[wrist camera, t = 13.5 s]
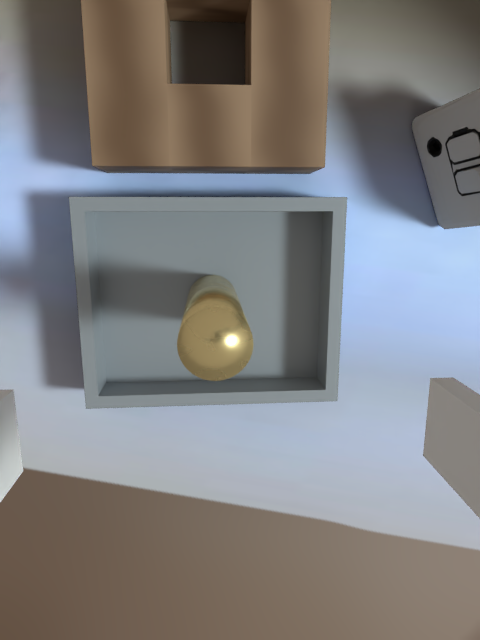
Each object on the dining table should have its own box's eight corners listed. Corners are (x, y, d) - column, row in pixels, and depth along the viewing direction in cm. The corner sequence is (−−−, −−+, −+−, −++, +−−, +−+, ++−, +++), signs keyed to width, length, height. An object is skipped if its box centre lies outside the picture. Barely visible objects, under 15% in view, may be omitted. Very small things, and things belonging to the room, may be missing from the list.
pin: (236, 274, 37) (253, 306, 24) (236, 322, 38) (253, 380, 24) (187, 274, 37) (175, 307, 23) (188, 323, 38) (178, 381, 24)
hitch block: (316, -55, 33) (334, -102, 29) (309, 173, 37) (324, 167, 32) (93, -64, 32) (73, -114, 27) (107, 172, 36) (92, 165, 31)
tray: (332, 199, 37) (347, 197, 34) (324, 383, 41) (337, 401, 37) (83, 199, 36) (68, 196, 32) (97, 390, 40) (85, 408, 36)
